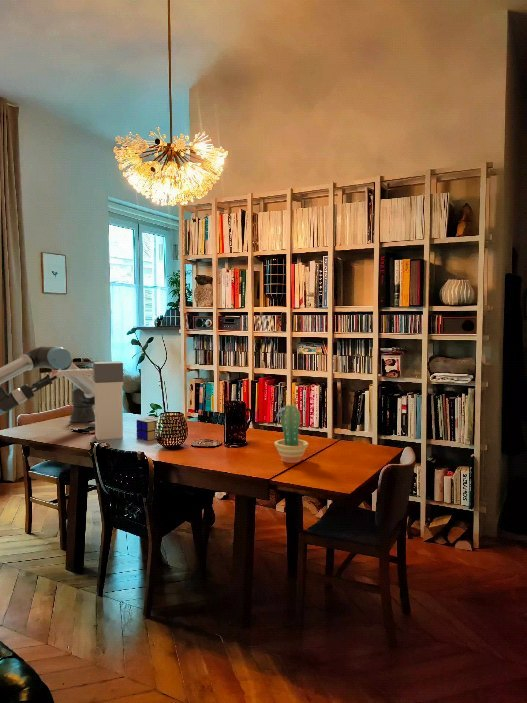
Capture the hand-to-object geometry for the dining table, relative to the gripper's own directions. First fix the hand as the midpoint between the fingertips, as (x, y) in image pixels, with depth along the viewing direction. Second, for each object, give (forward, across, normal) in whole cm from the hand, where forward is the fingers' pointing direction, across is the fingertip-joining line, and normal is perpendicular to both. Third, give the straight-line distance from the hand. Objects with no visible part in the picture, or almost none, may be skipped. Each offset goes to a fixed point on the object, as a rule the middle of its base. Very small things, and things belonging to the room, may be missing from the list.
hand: (62, 371), depth 278 cm
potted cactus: (+63, +78, -78) cm, 128 cm away
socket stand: (+2, 0, -42) cm, 43 cm away
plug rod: (+5, 0, -6) cm, 8 cm away
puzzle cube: (+19, +11, -53) cm, 57 cm away
